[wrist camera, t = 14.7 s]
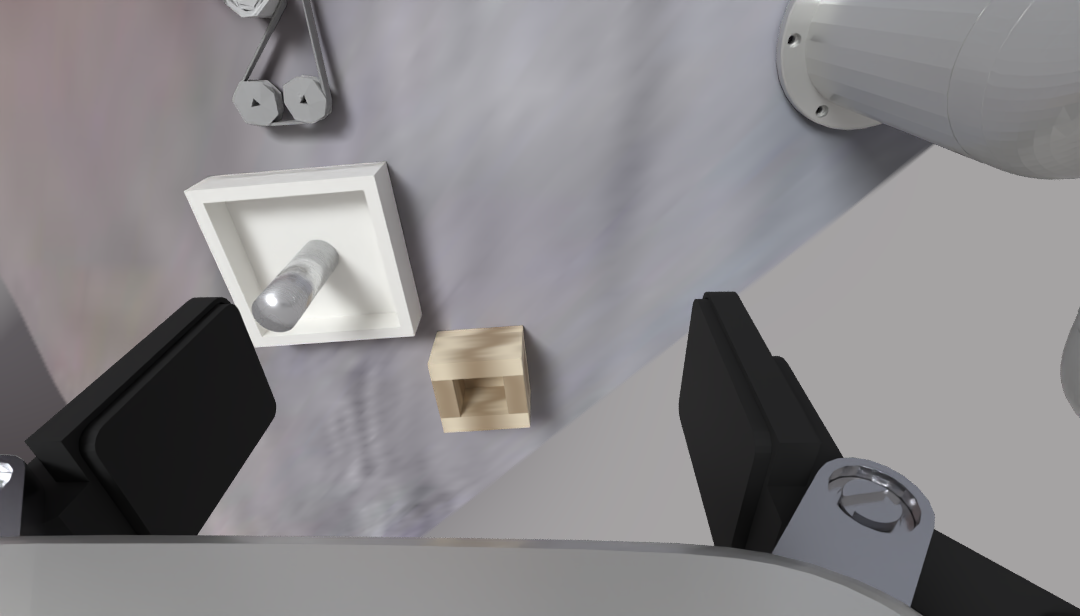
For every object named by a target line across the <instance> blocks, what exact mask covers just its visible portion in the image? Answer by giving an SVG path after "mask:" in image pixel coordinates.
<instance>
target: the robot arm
mask: <svg viewBox="0 0 1080 616" xmlns="http://www.w3.org/2000/svg"><path fill="white" fill-rule="evenodd" d="M790 36H792V41H791V42H790V43H789V44H788V39H789V37H790ZM776 64H777V70H778V75H779V80H780V83H781V86H782V88H783V90H784V93H785V95H786V97H787V98H788V99H789V101H790V102H791V104H792V105H793V106H794V108H795V109H797V110H798V111H799V112H800V113H801V114H803V115H804V116H805V117H806V118H808V119H810V120H812V121H814V122H816V123H818V124H820V125H823V126H826V127H829V128H833V129H841V130H856V129H865V128H869V127H873V126H877V125H880V124H886V125H888V126H891V127H893V128H896V129H898V130H901V131H903V132H906V133H908V134H911V135H913V136H916V137H918V138H921V139H923V140H926V141H928V142H931V143H933V144H936V145H938V146H941V147H943V148H946V149H948V150H951V151H953V152H956V153H959V154H961V155H963V156H966V157H969V158H971V159H974V160H976V161H979V162H981V163H985V164H987V165H990V166H992V167H995V168H997V169H1000V170H1003V171H1006V172H1009V173H1012V174H1016V175H1019V176H1024V177H1030V178H1037V179H1075V178H1080V0H790V1H789V3H788V5H787V8H786V11H785V13H784V16H783V19H782V22H781V25H780V29H779V35H778V40H777V58H776ZM818 107H820V109H819V111H817V112H816V110H817V108H818ZM1060 371H1061V372H1060V375H1061V383H1062V387H1063V391H1064V393H1065V396H1066V398H1067V400H1068V401H1069V403H1070V405H1071V407H1072V408H1073V410H1074V411H1075V413H1076V414H1077V415H1078V416H1079V417H1080V308H1079V310H1078V314H1077V316H1076V319H1075V321H1074V323H1073V326H1072V328H1071V330H1070V333H1069V335H1068V339H1067V341H1066V344H1065V347H1064V350H1063V355H1062V361H1061V370H1060ZM275 413H276V402H275V399H274V397H273V394H272V392H271V389H270V387H269V384H268V382H267V379H266V377H265V374H264V371H263V369H262V366H261V364H260V361H259V359H258V356H257V354H256V351H255V349H254V346H253V344H252V341H251V339H250V336H249V334H248V331H247V329H246V326H245V324H244V321H243V319H242V316H241V314H240V311H239V309H238V308H237V307H236V306H235V305H233V304H231V303H230V302H229V301H228V300H227V299H226V298H223V297H198V298H192V299H190V300H189V301H187V302H186V303H185V304H184V305H183V306H182V307H180V308H179V309H178V310H177V311H176V312H175V313H173V314H172V315H171V316H170V317H169V318H168V319H166V320H165V321H164V322H163V323H162V324H161V325H159V326H158V327H157V328H156V329H155V330H154V331H152V332H151V333H150V334H149V335H148V336H147V337H145V338H144V339H143V340H142V341H141V342H140V343H138V344H137V345H136V346H135V347H134V348H133V349H131V350H130V351H129V352H128V353H127V354H126V355H124V356H123V357H122V358H121V359H120V360H119V361H117V362H116V363H115V364H114V365H113V366H112V367H111V368H109V369H108V370H107V371H106V372H105V373H104V374H102V375H101V376H100V377H99V378H98V379H97V380H95V381H94V382H93V383H92V384H91V385H90V386H88V387H87V388H86V389H85V390H84V391H83V392H81V393H80V394H79V395H78V396H77V397H76V398H74V399H73V400H72V401H71V402H70V403H69V404H67V405H66V406H65V407H64V408H63V409H62V410H60V411H59V412H58V413H57V414H56V415H55V416H53V417H52V418H51V419H50V420H49V421H48V422H46V423H45V424H44V425H43V426H42V427H41V428H40V429H38V430H37V431H36V432H35V433H34V434H32V435H31V436H30V437H29V438H28V439H27V440H25V443H26V444H27V445H28V446H29V447H30V449H31V450H32V451H33V453H34V454H35V455H36V457H35V458H34V459H33V460H32V461H31V462H30V463H29V464H28V465H27V464H26V463H25V462H24V461H23V459H21V458H19V457H17V456H15V455H0V616H1080V609H1079V608H1077V607H1075V606H1073V605H1072V604H1070V603H1068V602H1066V601H1064V600H1063V599H1061V598H1059V597H1057V596H1055V595H1053V594H1051V593H1050V592H1048V591H1046V590H1044V589H1042V588H1041V587H1039V586H1037V585H1035V584H1033V583H1031V582H1030V581H1028V580H1026V579H1024V578H1022V577H1021V576H1019V575H1017V574H1015V573H1013V572H1011V571H1010V570H1008V569H1006V568H1004V567H1002V566H1000V565H999V564H997V563H995V562H993V561H991V560H989V559H988V558H985V557H984V556H982V555H980V554H979V553H976V552H975V551H973V550H971V549H969V548H968V547H966V546H964V545H962V544H960V543H959V542H957V541H955V540H953V539H951V538H949V537H947V536H946V535H944V534H942V533H940V532H938V531H936V530H935V529H934V523H935V522H934V521H935V514H934V512H933V510H932V507H931V505H930V502H929V501H928V499H927V498H926V497H925V496H924V494H923V493H922V492H921V491H920V489H919V488H918V487H917V486H916V485H914V484H913V483H912V482H911V481H909V480H908V479H907V478H906V477H905V476H903V475H901V474H900V473H898V472H896V471H894V470H892V469H891V468H889V467H887V466H884V465H881V464H879V463H876V462H873V461H870V460H866V459H859V458H853V457H852V458H843V456H842V454H841V453H840V451H839V449H838V448H837V446H836V444H835V443H834V441H833V439H832V437H831V436H830V434H829V432H828V431H827V429H826V427H825V426H824V424H823V422H822V421H821V419H820V417H819V416H818V414H817V412H816V410H815V409H814V407H813V405H812V404H811V402H810V400H809V399H808V397H807V395H806V394H805V392H804V390H803V389H802V387H801V385H800V383H799V382H798V380H797V378H796V377H795V375H794V373H793V372H792V370H791V368H790V367H789V365H788V363H787V362H786V361H785V360H784V358H782V357H780V356H772V355H771V353H770V352H769V349H768V348H767V346H766V344H765V342H764V340H763V339H762V337H761V335H760V333H759V332H758V330H757V328H756V326H755V325H754V323H753V321H752V319H751V318H750V316H749V314H748V312H747V310H746V309H745V307H744V305H743V303H742V301H741V300H740V298H739V296H738V294H737V293H736V292H705V293H704V296H703V299H695V300H694V302H693V307H692V314H691V321H690V327H689V334H688V341H687V348H686V355H685V362H684V370H683V376H682V384H681V391H680V398H679V416H680V420H681V424H682V428H683V431H684V435H685V439H686V442H687V446H688V450H689V454H690V457H691V461H692V464H693V468H694V472H695V476H696V479H697V483H698V487H699V490H700V494H701V498H702V501H703V505H704V509H705V512H706V516H707V520H708V524H709V527H710V530H711V535H712V538H713V542H714V546H707V545H706V546H705V545H694V544H680V543H654V542H623V541H592V540H544V539H542V540H541V539H539V540H538V539H482V538H477V539H476V538H417V537H329V536H201V535H198V533H199V532H200V530H201V529H202V527H203V525H204V524H205V522H206V521H207V519H208V518H209V516H210V515H211V513H212V512H213V510H214V509H215V507H216V506H217V504H218V503H219V501H220V500H221V498H222V497H223V495H224V493H225V492H226V490H227V489H228V487H229V486H230V484H231V483H232V481H233V480H234V478H235V477H236V475H237V474H238V472H239V471H240V469H241V468H242V466H243V465H244V463H245V461H246V460H247V458H248V457H249V455H250V454H251V452H252V451H253V449H254V448H255V446H256V445H257V443H258V442H259V440H260V439H261V437H262V436H263V434H264V433H265V431H266V430H267V428H268V426H269V425H270V423H271V422H272V420H273V419H274V417H275Z"/></svg>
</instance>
